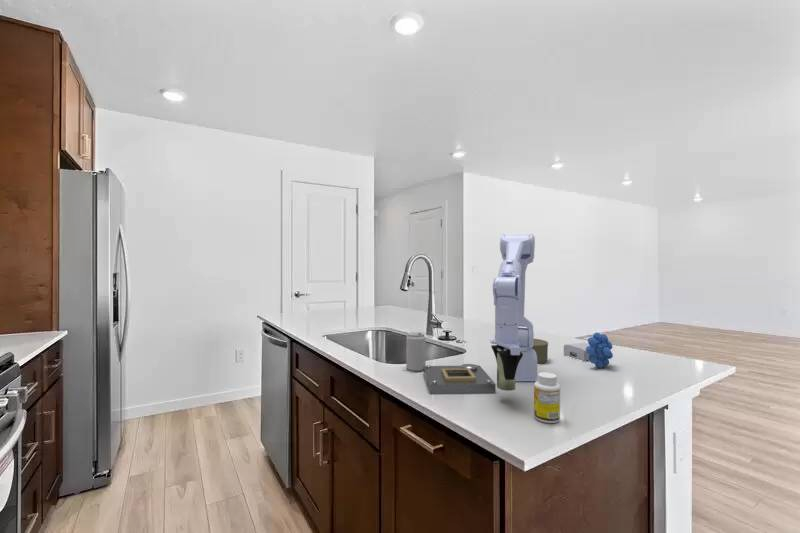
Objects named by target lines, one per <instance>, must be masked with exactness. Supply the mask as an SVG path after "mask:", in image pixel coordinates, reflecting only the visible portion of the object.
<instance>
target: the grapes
mask: <svg viewBox="0 0 800 533" xmlns="http://www.w3.org/2000/svg"><path fill="white" fill-rule="evenodd" d="M587 344H589V345H590V346H587V347H586V352H587V353H588V354H589V355H590V356H589V362H590V363H591V364H594V366H595V367H596V368H598V369H601V368H603V366H604V367H607V366H609V365H610V360H611V359H612V358H613V357H614V354H613V352H612V349H613V344H612V342H611V341H609V337H608V336H607V334H605V333H600V332H594V333H593V334H592V336H590V337H588V339H587Z"/></svg>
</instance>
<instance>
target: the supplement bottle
mask: <svg viewBox="0 0 800 533" xmlns="http://www.w3.org/2000/svg"><path fill="white" fill-rule="evenodd" d="M537 379H538V381H534V385H533V386H534V389H533V393H534V394H533V395H534V396H533V400H534V401H533V402H534V403H533V405H534V406H533V411H534V412H533V415H534V418H535V419H536V420H538V422H541V423H544V424H545V423H546V424H556V423H558V422H559V421H560V419H561V385H560V384H559V383H558V382H557V375H556V374H555V373H552V372H546V371H545V372H539V373H537Z"/></svg>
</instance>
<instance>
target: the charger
mask: <svg viewBox="0 0 800 533" xmlns="http://www.w3.org/2000/svg"><path fill="white" fill-rule="evenodd" d="M587 346H590V345H589V343H588V342H587V343H586V342H577V343H568V344H564V345H563V356H564V355H565V356H564V357H566V356H569V357H572V358H571V359H573V358H575V359H574V360H576V359H579V360H582V361H581V362H587V361H586V360H589V356H590V355H589V354H588V353H587V352H586V347H587ZM569 357H568V358H569ZM579 360H578V361H579Z"/></svg>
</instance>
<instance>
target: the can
mask: <svg viewBox="0 0 800 533" xmlns="http://www.w3.org/2000/svg"><path fill="white" fill-rule="evenodd" d="M531 349H534V350H535V352H536V354H537V364H541V365H545V364H544V363H546V364H547V363H548V355H549V354H548V350H549V341H546V340H545V339H544V340H543V339H540V338H534V340H533V347H532V348H531Z"/></svg>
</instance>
